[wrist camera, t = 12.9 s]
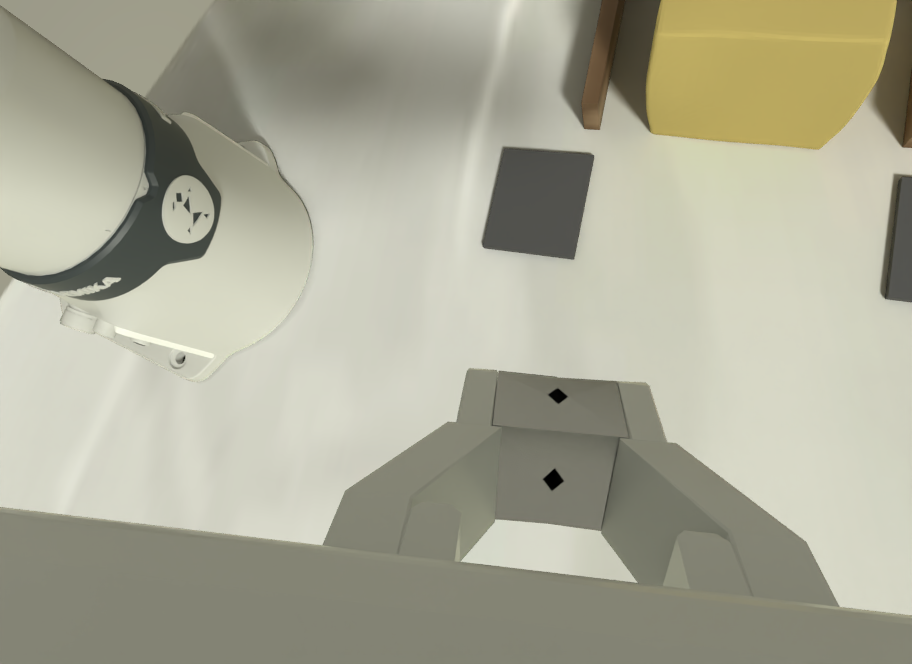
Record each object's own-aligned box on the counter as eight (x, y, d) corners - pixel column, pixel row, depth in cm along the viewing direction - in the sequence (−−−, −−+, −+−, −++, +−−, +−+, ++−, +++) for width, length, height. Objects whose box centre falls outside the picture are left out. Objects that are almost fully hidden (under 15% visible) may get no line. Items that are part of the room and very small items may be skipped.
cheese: (673, -1, 39) (689, -147, 29) (857, 4, 35) (942, -160, 26) (640, 142, 37) (646, 37, 28) (829, 161, 34) (907, 48, 25)
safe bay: (584, 128, 39) (581, 103, 36) (617, -37, 40) (617, -74, 37) (923, 148, 33) (951, 119, 30) (944, -46, 34) (973, -91, 32)
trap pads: (484, 248, 39) (482, 246, 38) (505, 151, 40) (504, 148, 39) (1020, 316, 30) (1026, 314, 30) (1031, 189, 31) (1036, 186, 31)
